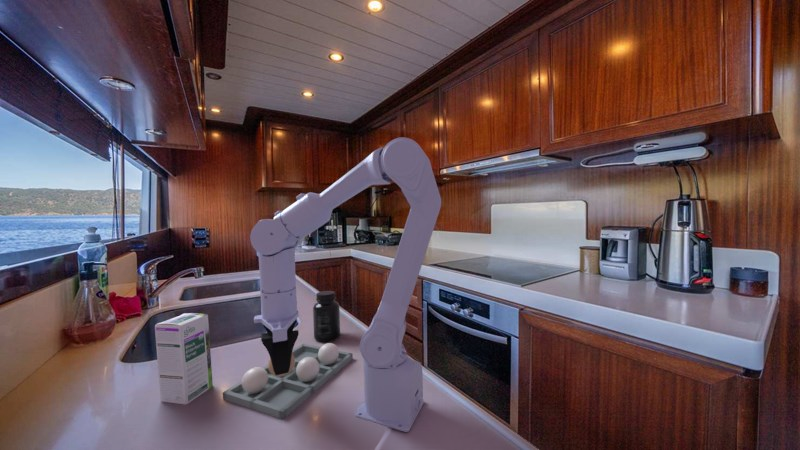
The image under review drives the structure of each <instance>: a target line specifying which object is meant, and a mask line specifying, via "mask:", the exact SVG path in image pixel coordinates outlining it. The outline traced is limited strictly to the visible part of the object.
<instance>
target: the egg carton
mask: <svg viewBox="0 0 800 450" xmlns="http://www.w3.org/2000/svg"><path fill="white" fill-rule="evenodd" d="M292 353H293V354H294V357H295V365H294V368H293V369H292V371H291V372H290V373H289V374H287V375H285V376H282V377H277V376H274V375H272V374H271V373H270V371H269V369H268V364H267V365H266V366H264V367H260V366H255V367H252V368H250V369H248V370H247V371H246V372H244V375H242V379H241V381H239V382H237V383H236V384H234V385H232V386H230V387H229V388H227V389H226V390H225V391H223V392H222V400H223V401H227V402H230V403H232V404H236V405H239V406H242V407H244V408H248V409H250V410H254V411H257V412H260V413H263V414H266V415H268V416H272V417H275V418H278V419H279V420H280V419H281V420H285V419H286V418H287V417H288V416H289V415H290V414H291V413H293V412H294V411H295V410H297V408H299V406H301V405H302V404H303V403H305V401H306V400H308V399H309V398H310V397H311V396H312V395H314V394H315V393H316V392H317V391H318V390H319V389H320V388H321V387H322V386H324V385H325V384H326V383H327V382H328V381H329V380H331V379H332V378H333V377H334V376H335V375H336V374H338V372H340V371H341V370H342V369H343V368H344V367H345V366H346V365H348V364H349V363H350V362H351V361H352V360H353V359H354V358H353V357H354V356H353V353H351V352H345V351H341V350H339V347H338V346H337V345H336V344H334V343H332V342H325V343H324V344H323V345H322V346H315V345H311V344H306V343H302V344H300V345H298V346H297V347H295V348H293V351H292Z"/></svg>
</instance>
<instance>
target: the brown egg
mask: <svg viewBox="0 0 800 450" xmlns="http://www.w3.org/2000/svg"><path fill="white" fill-rule="evenodd" d="M267 363H268V364H267V365H268V369H269V371H270V373H271V374H272V375H274V376H277V377H282V376H285V375H287V374H289V373H290V372H291V371H292V369H293V368H294V365H295V357H294V354H293V353H292V356H291V363H290V369H289V372H288V373H284V374H280V375H275V373H274V370H273V366H272V362H271V358H270V357H269V359H268V362H267Z"/></svg>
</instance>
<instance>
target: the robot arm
mask: <svg viewBox="0 0 800 450" xmlns="http://www.w3.org/2000/svg"><path fill="white" fill-rule="evenodd" d="M432 167H433V166H432V163H431V159H429V156H427V154H426V153H425V151H424V149H422V147H421V146H420V144H419V143H418V142H417V141H415V140H414V139H411V138H410V137H405V136H404V137H402V136H401V137H397V138H396V137H395V138H394V139H392V140H390V141H389V142H388V143H386V144H385V146H384V147H379V148H377V149H375V150H374V151H372V152H371V153H370V154H369V155H367V156H366V157H365V158H364V159H363V160H362V161H360V162H359V163H358V164H356V166H354V167H353V168H351V169H350V170H349V171H347V172H346V173H345V174H344V175H342V176H341V177H340V178H339V179H337V180H336V181H335V182H334V183H332V184H331V185H330V186H328V187H327V188H326V189H324V190H323V191H321V193H315V192H311V191H310V192H307V193H301V192H300V194H298V195H296V197H295V198H296V201H294V202H293V203H291V204H290V205H289V206H287V207H286V208H284V209H283V210H277V211H276V212H274V217H273V219H271V218H263V219H260V220H258V221H257V223H256V224H254V226H253V227H252V228H251V232H250V236H249V238H250V244H251V247H253V249H254V251H256V252H257V253H258V266H259V267H258V269H259V270H258V271H259V291H260V306H261V307H260V311H261V312H260V313H261V314H258V315H257V314H256V315H254V317H253V323H254V324H259V323H261V324H262V325H263V328H264V329H265V331H266V332H264V333H261V336H260V341H261V343H262V345H263V346H264V347H265V349H266V351H267V353H268V355H269V359H270V358H271V362H272V366H273V370H274V373H275V375H280V374H284V373H288V372H289V369H290V363H291V356H292V351H293V349H294V347H295V343H296V342H297V340H298V337H299V329H296V330H294V328H295V326H296V323H297V319H298V317H299V310H298V305H297V304H298V301H297V281H296V279H297V276H296V258H295V256H296V247H298V245H299V243H300V241H302V240H303V239H305V238H306V237H308V236H310V234H312V233H314V232H316V230H318V229H320V228H321V227H323V226H324V225H325V224H326V223H328V222H329V221H330V220H331V218H332V213H333V210H334V209H336V208H337V207H339V206H340V205H342V204H344V203H346V202H347V201H348V200H349V199H352V198H353V197H354V196H356V195H358V194H359V193H362V191H364V190H366V189H368V188H369V187H371V186H374V185H375V186H376V185H379V186H380V185H391V180H392V182H393V183H395V184H396V185H398V187H399V188H400V189H401V192H402V194H403V195H404V197H405V199H406V200H407V203H408V204H409V207H410V209H409V212H408V216H407V219H406V221H405V224H404V229H403V231H402V235H401V238H400V241H399V244H398V246H397V250H396V253H395V256H394V260H393V262H392V266H391V269H390V272H389V276H388V278H387V281H386V283H385V288H384V291H383V294H382V297H381V300H380V303H379V306H378V308H377V311H376V312H375V314H374V316H373V317H372V321H371V323H370V324H369V327H368V328H367V329H366V331H365V332H364V334H363V335H362V336H361V339H360V342H359V352H360V354H361V356H362V358H363V383H364V384H363V385H364V389H363V390H364V401H363V403H362V404H361V405H360V406H359V407H358V409H357V410H356V411H355V412H354V416H355V418H359V419H363V420H364V421H369V422H373V423H376V424H380V425H383V426H386V427H388V428H391V429H393V430H397V431H402V432H404V433H409V432H410V430H411V429H412V426H413V424H414V422H416V419H417V417H418V415H419V413H420V411H421V410H422V407H423V405H424V404H425V398H424V396H423V395H424V391H423V390H424V386H423V384H424V382H423V380H424V379H423V378H424V377H423V366H422V363H421V362H420V361H417V360H415V359H414V358H411V357H410V356H409V355H408V352H407V350H406V348H405V346H404V343H403V341H404V340H403V339H404V335H405V333H406V330H407V323H406V315H407V311H408V309H409V306H410V303H411V299H412V296H413V293H414V290H415V287H416V285H417V281H418V278H419V276H420V272H421V270H422V265H423V262H424V260H425V257H426V253H427V251H428V248H429V244H430V241H431V238H432V235H433V232H434V228H435V226H436V223H437V219H438V217H439V214H440V210H441V207H442V197H441V194H440V191H439V187H438V184H437V181H436V177H435V175H434V171H433V168H432Z"/></svg>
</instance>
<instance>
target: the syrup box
mask: <svg viewBox="0 0 800 450" xmlns="http://www.w3.org/2000/svg"><path fill="white" fill-rule="evenodd" d="M154 332H155V333H154V335H155V346H156V361H157V371H158V383H159V397H160V399H159V400H160V402H161V403H162V402H164V403H170V404H171V403H173V404H177V405H178V404H180V405H188V404H190V403H191V402H192V401H194V400H195V399H197V398H198V397H199V396H201V395H202V394H204V393H206V392H207V391H208V390H210V389H211V388H212V387H213V386H214V384H213V373H212V372H213V371H212V370H213V368H212V355H211V341H210V327H209V315H208V314H207V313H201V312H200V313H198V312H195V313H194V312H189V313H188V312H187V313H186V312H184V313H182V314H180V315H179V316H175V317H172V318H169V319H167V320H164V321H162V322H161V321H160V322H157V323H156V324H155V325H154Z"/></svg>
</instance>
